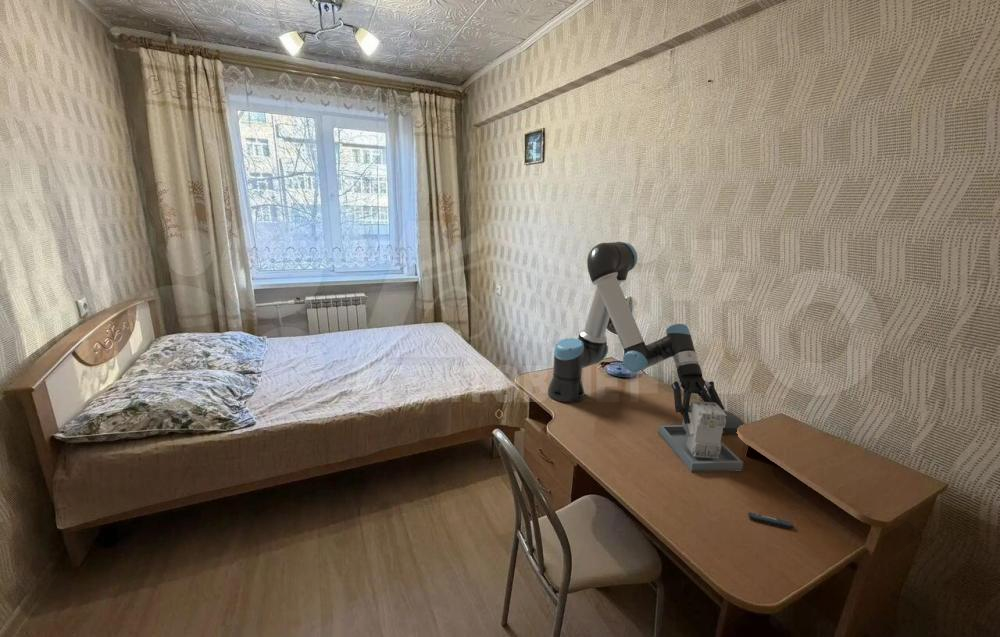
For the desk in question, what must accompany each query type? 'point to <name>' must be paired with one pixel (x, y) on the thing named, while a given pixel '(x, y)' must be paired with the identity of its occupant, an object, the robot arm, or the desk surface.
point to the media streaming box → (731, 423)
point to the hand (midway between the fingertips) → (706, 433)
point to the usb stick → (770, 520)
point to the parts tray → (676, 441)
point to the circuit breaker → (705, 429)
